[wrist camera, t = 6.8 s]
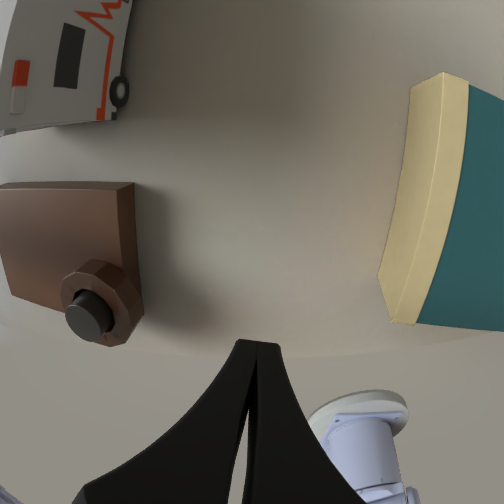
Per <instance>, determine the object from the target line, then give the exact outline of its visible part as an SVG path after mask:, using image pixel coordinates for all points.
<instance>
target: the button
mask: <svg viewBox="0 0 504 504" xmlns="http://www.w3.org/2000/svg"><path fill="white" fill-rule="evenodd" d="M65 317H66V320H67V323H68V325H69V326H70V328H71V329H72V331H73V332H74V333H75V334H76V335H78V336H79V337H80V338H82V339H84V340H86V341H89V342H95V341H98V340H99V339H100V338H101V336H102V335H103V334H104V332H105V331H106V330H107V328H108V327H109V326H110V324H111V323H112V321H113V313H112V310H111V308H110V307H109V305H108V304H107V302H106V301H105V300H104V299H103V298H102V297H100V296H99V295H98V294H96V293H95V292H93V291H84V292H82V293H81V294H80V295H79V296H78V297H77V298H76V299H75V300H74V301H73V302H72V303H71V304H70V305H69V306H68V307H67V308H66V311H65Z"/></svg>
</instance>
